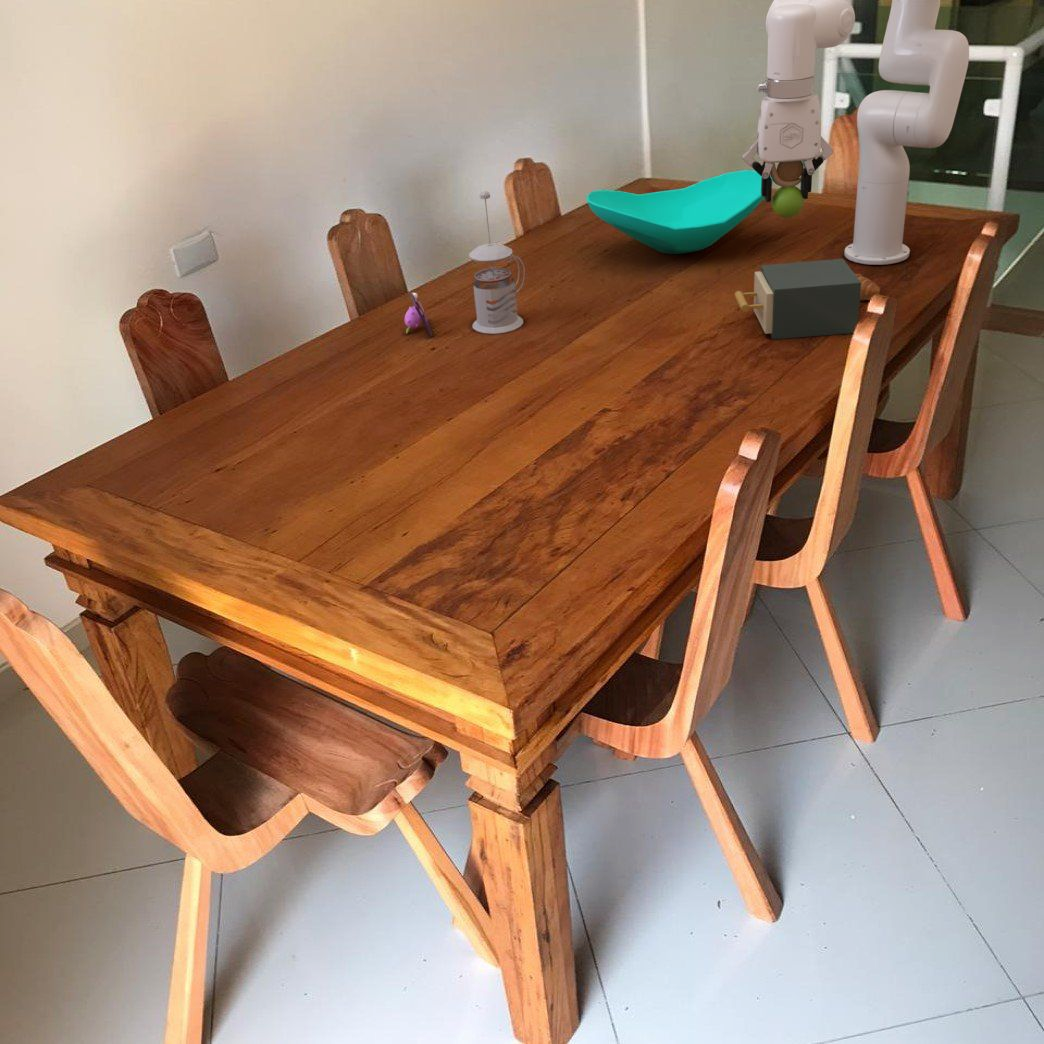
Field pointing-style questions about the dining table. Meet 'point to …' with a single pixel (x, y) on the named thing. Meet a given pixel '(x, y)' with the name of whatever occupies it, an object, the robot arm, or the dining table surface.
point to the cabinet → (813, 298)
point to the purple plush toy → (415, 315)
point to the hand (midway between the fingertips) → (785, 197)
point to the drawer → (759, 301)
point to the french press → (498, 314)
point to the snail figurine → (787, 188)
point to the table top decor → (681, 211)
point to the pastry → (867, 288)
